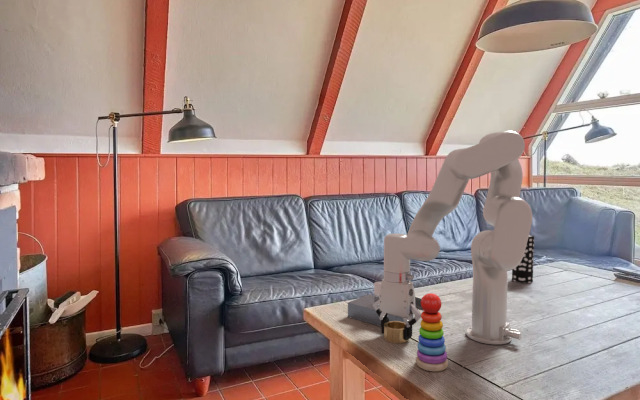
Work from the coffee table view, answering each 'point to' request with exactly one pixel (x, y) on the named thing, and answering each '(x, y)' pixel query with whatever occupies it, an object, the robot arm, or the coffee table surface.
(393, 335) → the bronze ring
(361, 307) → the grey peg board
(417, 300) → the phone
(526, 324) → the coffee table surface
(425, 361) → the stacking toy
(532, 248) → the spotted tube
